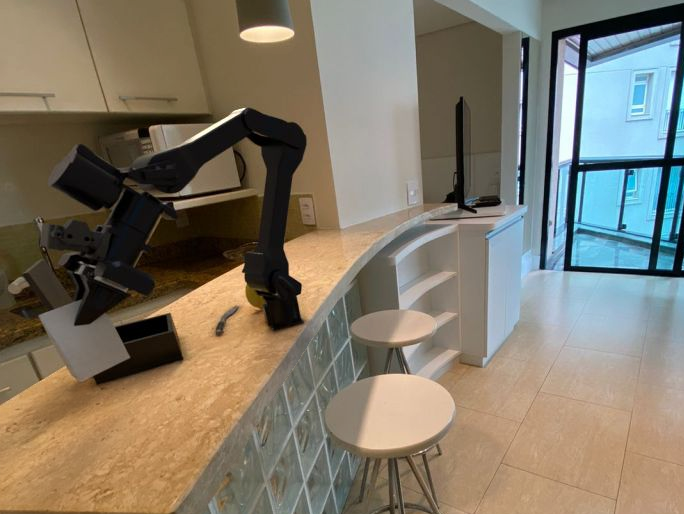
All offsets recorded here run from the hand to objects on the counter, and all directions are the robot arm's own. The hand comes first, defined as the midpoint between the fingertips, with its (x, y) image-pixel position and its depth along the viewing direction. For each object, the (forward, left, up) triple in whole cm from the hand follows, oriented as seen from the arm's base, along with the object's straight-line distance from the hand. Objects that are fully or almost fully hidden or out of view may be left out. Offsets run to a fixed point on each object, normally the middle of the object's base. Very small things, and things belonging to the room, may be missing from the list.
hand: (74, 327), depth 56 cm
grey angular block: (-1, 0, -7) cm, 7 cm away
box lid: (+3, -16, 0) cm, 16 cm away
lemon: (-29, -26, -13) cm, 41 cm away
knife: (-21, -25, -13) cm, 35 cm away
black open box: (-4, -16, -13) cm, 21 cm away
